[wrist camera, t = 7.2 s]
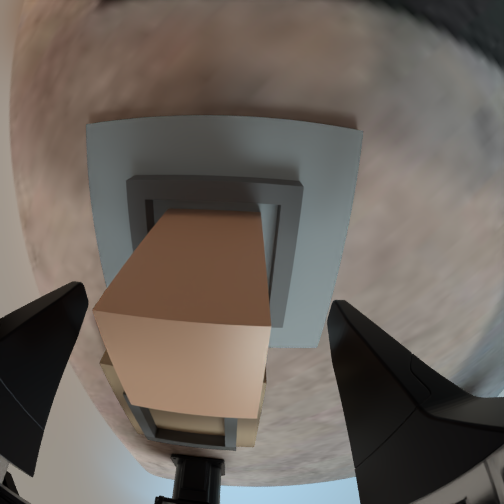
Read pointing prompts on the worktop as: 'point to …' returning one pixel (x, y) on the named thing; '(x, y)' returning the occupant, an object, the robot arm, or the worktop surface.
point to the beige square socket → (185, 421)
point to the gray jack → (234, 197)
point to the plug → (192, 315)
